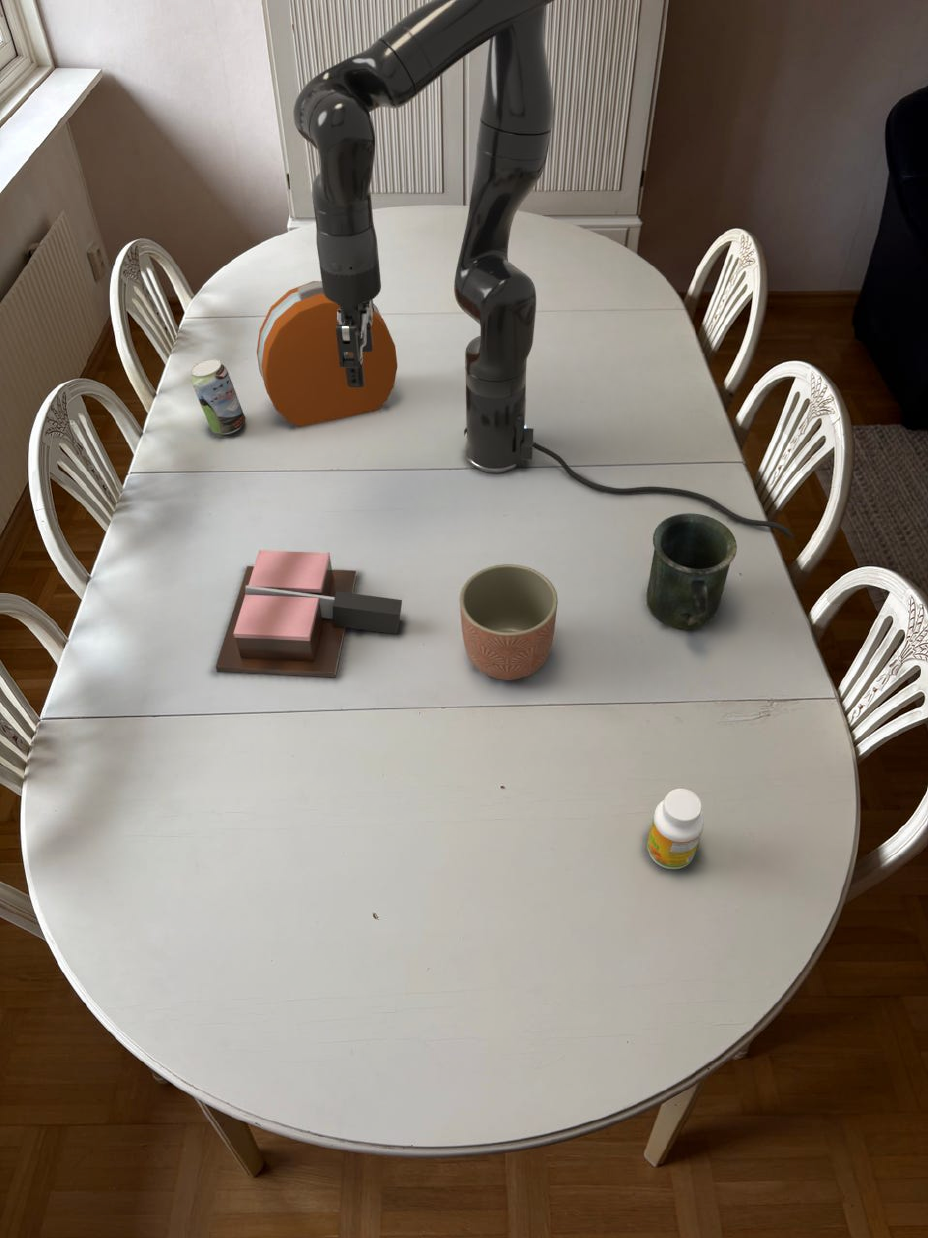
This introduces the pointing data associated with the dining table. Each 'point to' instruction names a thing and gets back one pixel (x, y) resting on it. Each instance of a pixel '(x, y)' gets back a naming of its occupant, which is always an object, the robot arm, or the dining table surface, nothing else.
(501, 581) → the planter
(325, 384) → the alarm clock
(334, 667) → the cake
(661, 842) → the supplement bottle
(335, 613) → the knife
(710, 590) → the mug
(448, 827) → the dining table surface
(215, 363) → the beverage can
